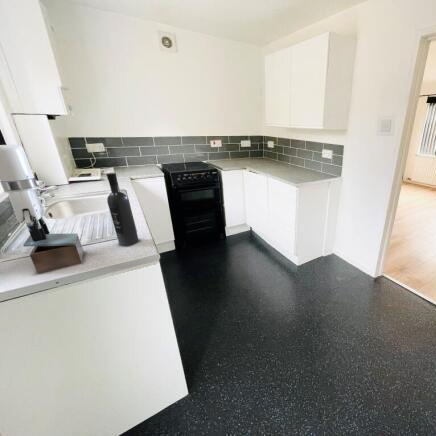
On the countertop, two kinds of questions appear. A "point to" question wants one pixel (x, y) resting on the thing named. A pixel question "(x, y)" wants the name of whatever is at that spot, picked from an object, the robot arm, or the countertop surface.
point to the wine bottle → (121, 214)
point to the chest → (56, 256)
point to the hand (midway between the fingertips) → (41, 237)
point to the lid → (53, 240)
